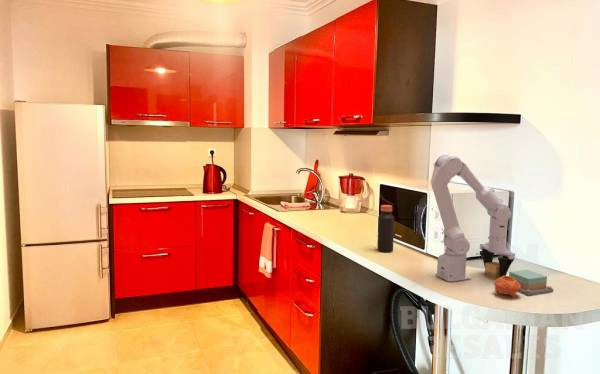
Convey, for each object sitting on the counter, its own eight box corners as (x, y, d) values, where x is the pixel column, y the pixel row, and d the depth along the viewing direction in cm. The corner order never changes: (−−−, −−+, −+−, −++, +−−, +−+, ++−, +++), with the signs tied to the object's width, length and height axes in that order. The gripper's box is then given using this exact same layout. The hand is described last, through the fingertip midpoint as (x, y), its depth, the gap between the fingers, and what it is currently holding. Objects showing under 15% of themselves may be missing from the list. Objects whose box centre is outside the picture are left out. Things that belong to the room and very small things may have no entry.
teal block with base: (528, 296, 146) (529, 281, 145) (501, 285, 156) (502, 271, 156) (553, 291, 150) (554, 277, 149) (525, 281, 160) (526, 267, 160)
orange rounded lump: (495, 287, 153) (501, 269, 151) (519, 298, 148) (526, 280, 146) (487, 293, 147) (493, 274, 145) (511, 304, 142) (518, 285, 140)
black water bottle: (380, 248, 204) (381, 204, 202) (395, 250, 201) (396, 205, 198) (374, 251, 199) (376, 206, 196) (389, 253, 195) (391, 207, 193)
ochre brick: (495, 280, 162) (495, 266, 161) (484, 276, 166) (485, 262, 166) (505, 278, 163) (506, 265, 163) (495, 274, 168) (496, 261, 167)
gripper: (522, 240, 158) (520, 278, 159) (491, 231, 171) (488, 266, 173) (507, 241, 155) (504, 280, 157) (476, 232, 168) (474, 268, 170)
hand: (495, 273), depth 165 cm, fingers open, 6 cm apart
